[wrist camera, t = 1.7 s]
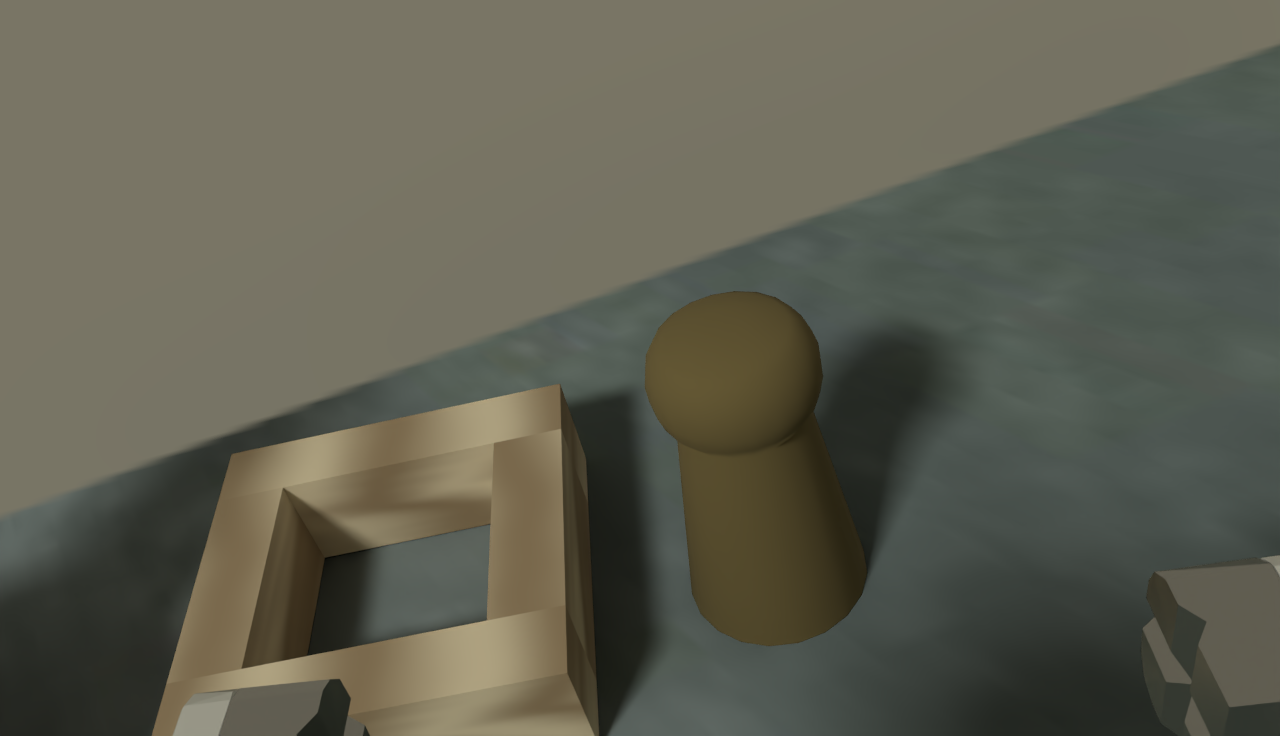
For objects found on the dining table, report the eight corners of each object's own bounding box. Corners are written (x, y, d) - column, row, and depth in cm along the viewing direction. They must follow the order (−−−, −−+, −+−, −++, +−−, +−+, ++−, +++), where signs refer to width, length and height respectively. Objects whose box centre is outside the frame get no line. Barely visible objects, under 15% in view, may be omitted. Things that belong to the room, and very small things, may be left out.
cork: (678, 529, 43) (608, 292, 36) (840, 488, 43) (801, 241, 36) (707, 665, 39) (632, 422, 32) (889, 620, 38) (855, 365, 31)
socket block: (586, 458, 47) (559, 383, 45) (599, 747, 37) (567, 673, 35) (274, 523, 48) (231, 454, 46) (205, 821, 38) (146, 753, 36)
